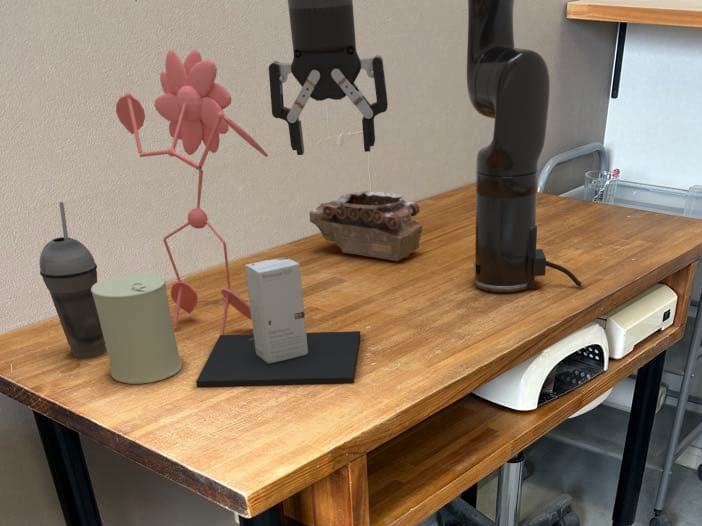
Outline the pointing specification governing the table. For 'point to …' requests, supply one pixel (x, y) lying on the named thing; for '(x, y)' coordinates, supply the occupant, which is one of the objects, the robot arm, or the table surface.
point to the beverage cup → (73, 292)
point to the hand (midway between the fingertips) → (334, 152)
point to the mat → (282, 362)
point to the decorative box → (370, 224)
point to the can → (137, 327)
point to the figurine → (190, 146)
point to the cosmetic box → (277, 309)
